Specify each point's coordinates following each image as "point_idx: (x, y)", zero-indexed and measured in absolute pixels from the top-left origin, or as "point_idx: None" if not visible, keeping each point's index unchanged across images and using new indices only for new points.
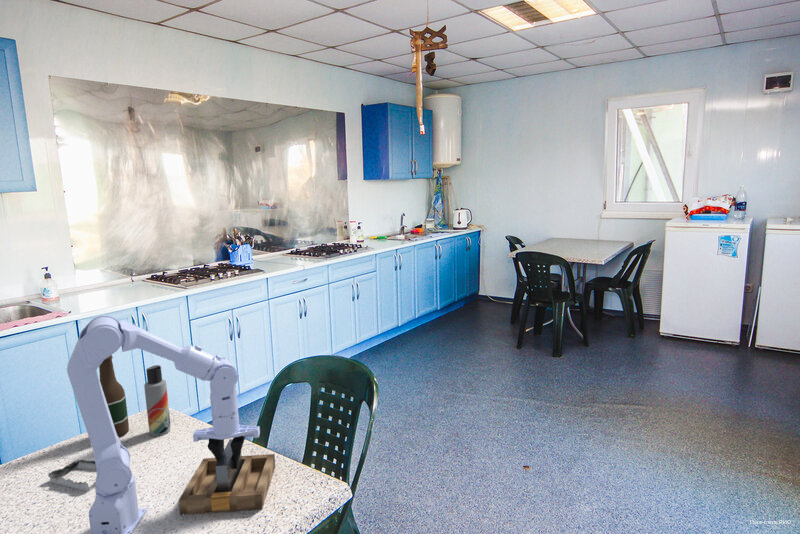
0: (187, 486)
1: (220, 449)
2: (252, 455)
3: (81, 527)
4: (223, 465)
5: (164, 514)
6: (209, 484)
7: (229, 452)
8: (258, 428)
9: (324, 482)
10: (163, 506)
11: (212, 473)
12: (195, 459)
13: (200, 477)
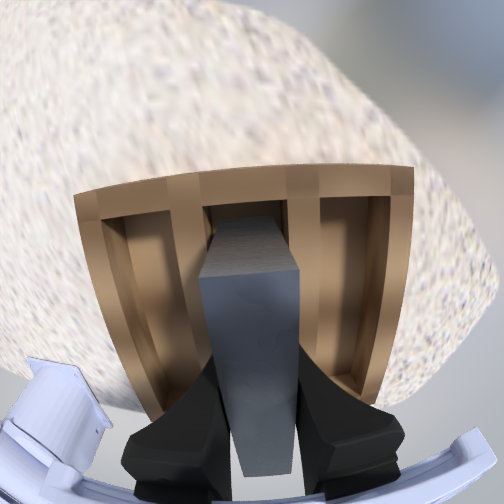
0: (130, 378)
1: (227, 460)
2: (315, 166)
3: (26, 378)
4: (275, 474)
5: (122, 383)
6: (167, 297)
7: (271, 424)
8: (481, 475)
9: (486, 266)
10: (98, 357)
11: (142, 224)
12: (50, 112)
13: (130, 314)
